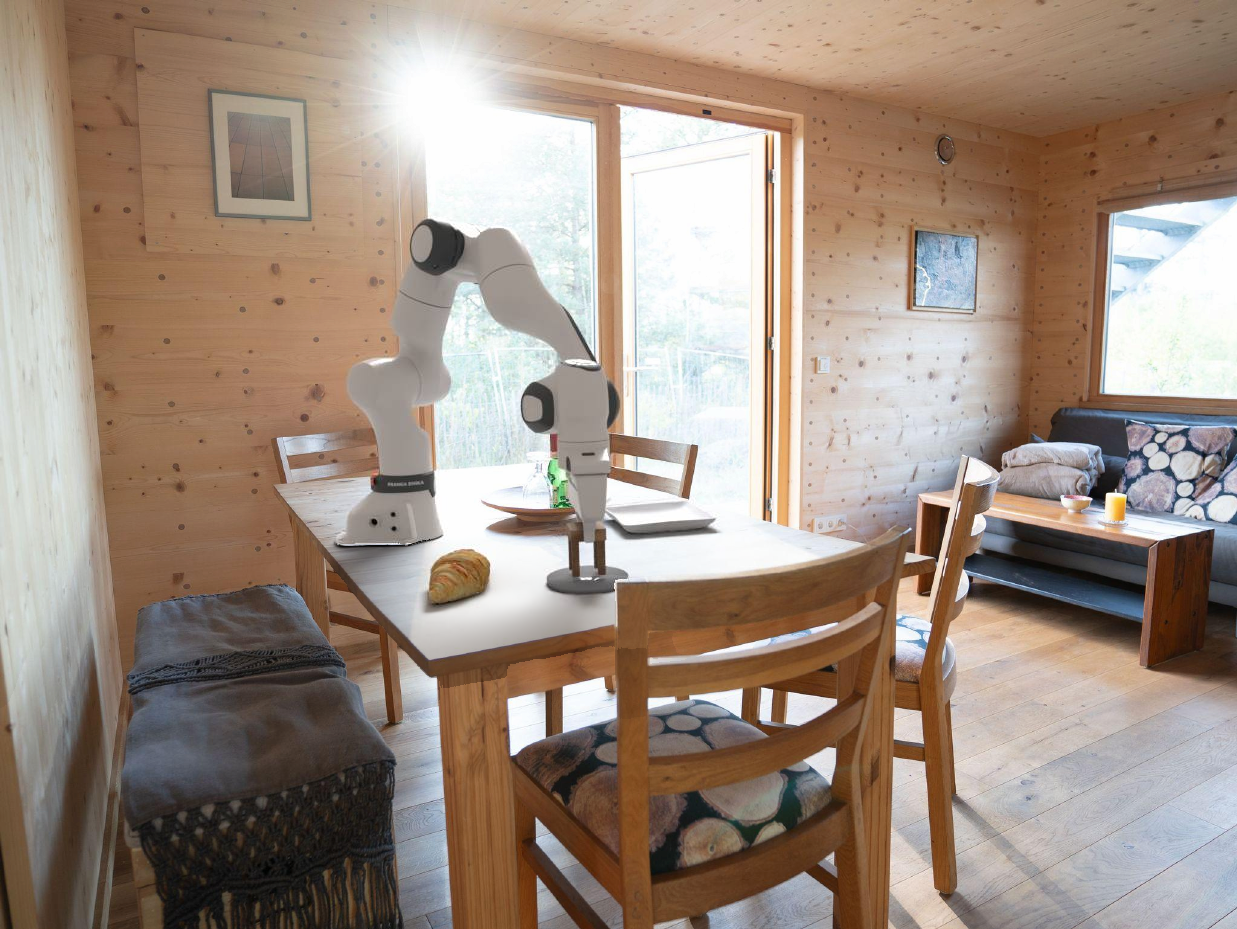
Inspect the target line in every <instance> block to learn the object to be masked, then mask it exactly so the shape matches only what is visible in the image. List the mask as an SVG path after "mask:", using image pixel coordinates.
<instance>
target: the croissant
mask: <svg viewBox="0 0 1237 929" xmlns="http://www.w3.org/2000/svg"><path fill="white" fill-rule="evenodd" d="M490 574H491V562H490V561H489V559H488V558H487V557H486V556H485V555H484V554H482V553H480V552H478V551H476V550H474V549H472V548H467V549H465V548H463V549H462V548H461V549H458V550H454V551H453V552H449V553H447V554H445V555H441V556H440V557H439V558H438V559H437V560H436V561H435V562H434V563H433V565H432V566H431V567H430V577H429V580H428V581H429V582H428V592H427V594H428V595H427V596H428V600H429V602H430V603H431V604H436V603H438V604H443V603H449V602H448V601H450V602H454V601H458V600H461V599H464V598H468V597H472V596H474V594H475V595H477V594H480V593H481V592H483V591H484V589H485V588H486V587H487V585H488V582H489V579H490V576H491V575H490ZM477 592H478V593H477ZM476 593H477V594H476ZM471 595H472V596H471ZM460 598H461V599H460Z"/></svg>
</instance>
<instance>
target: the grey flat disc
mask: <svg viewBox="0 0 1237 929" xmlns="http://www.w3.org/2000/svg"><path fill="white" fill-rule="evenodd" d="M627 578H628V579H629V573H628V572H627V571H626V570H624V569H621V568H618V567H613V566H610V565H609V566H608V565H606V575H598V568H597V569H595V568H594V564H592V565H580V577H573V576H572V570H569V566H568V567H563V568H560V569H556V570H554V571H552V572H550V573H548V575H546V586H547V587H548V588H550V589H551V590H553V591H556V592H560V593H565V594H572V595H573V594H577V595H591V594H603V593H607V592H608V593H609V592H612V591H615V589H614V583H615V580H618V579H627Z"/></svg>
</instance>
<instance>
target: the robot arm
mask: <svg viewBox="0 0 1237 929" xmlns="http://www.w3.org/2000/svg"><path fill="white" fill-rule="evenodd" d="M409 252H410V257H411V258H410V259H409V262H408V264H407V265H406V268H405V270H404V273H403V276H402V279H401V282H400V285H399V288H398V292H397V295H396V299H395V302H394V306H393V310H392V313H391V315H390V316H391V317H390V320H389V323H390V325H389V326H390V329H391V331H392V332H393V334H394V335H395V336H396V337H397V338H398V340H399V350H398V353H397V355H396V356H390V357H389V356H388V357H387V356H386V357H372V358H369V359H366V360H362V361H360V362H359V361H358V362H357V363H355V364H354V365H352V367H351V368H349V370H348V374H347V375H346V376H347V377H346V380H345V381H346V382H345V383H346V384H345V385H346V391H347V395H348V397H349V398H350V400H351V401H352V403H353V404H354V405H356V407H358V408H359V409H360V410H361V411H362V412H363V413H364V414H365V416H366V417H367V419H368V420H369V422H370V425H371V427H372V429H373V432H374V436H375V439H376V444H377V453H378V464H379V473H375V472H374V473H373V474H371V476H370V478H369V480H370V490H371V492H370V493H369V494H367V495H366V496H365V497H364V498H363V499H361V500H360V501H359V502H358V503H357V504H356V505H355V506H353V507H352V508H351V509H350V511H349V512H348V514H347V517H346V522H345V523H346V524H345V530H344V531H342V532H340V533H338V534H337V535H336V536H335V543H336V542H337V543H340V544H355V543H398V544H399V543H400V544H406V543H414V542H418V541H421V540H426V541H428V540H429V539H430V540H433V539H434V540H435V539H437V538H439V537H440V536H442V535H443V534H444V531H443V528H442V524H441V522H440V519H439V513H438V510H437V508H438V507H437V504H436V495H437V494H436V493H437V484H436V476H435V471H434V470H433V460H432V459H433V458H432V442H431V436H430V434H429V433H428V432H427V431H426V430H425V429H424V428H422V427H421V426H420V425H419V424H418V422H417V420H416V418H415V416H414V412H413V408H420V407H428V406H430V405H433V404H435V403H438V402H440V401H442V400H444V399H445V398H446V397H447V396H448V394H449V393H450V390H451V386H452V377H451V373H450V371H449V368H447V366H446V365H445V363H444V358H443V342H444V335H445V332H446V330H447V329H446V328H447V324H448V321H449V317H450V315H451V310H452V307H453V304H454V301H455V297H456V292H457V291H458V290H457V289H458V287H459V285H460V284H461V283H473V284H474V285H478V288H479V291H480V293H481V297H482V300H483V303H484V305H485V307H486V309H487V311H488V313H489V315H490V316H491V317H492V319H493V321H495V322H496V323H498V325H500V326H502V327H504V328H506V329H508V330H511V331H513V332H517V333H521V334H524V335H527V336H530V337H532V338H535V339H538V340H540V341H542V342H544V343H546V344H547V345H549V346H550V347H551V348H552V349H553V350H554V351H555V352H556V353H557V355H558V357H559V359H560V362H558V363H557V366H556V368H555V370H553V372H551V373H550V374H548V375H547V376H545V377H543V378H540V379H538V380H536V381H532V382H530V383H529V384H528V385H527V387H526V388H525V389H524V391H523V392H522V395H521V398H520V415H521V418H522V421H523V422H524V424H525V425H526V426H527V427H528V429H530V430H531V431H532V432H533V433H535V434H541V435H555V434H557V438H556V444H557V445H556V447H557V448H556V449H557V468H559V469H561V470H564V471H565V478H567V497H568V501H569V502H570V504H571V505H572V507H573V508H574V510H575V519H576V523H583V540H584V542H583V543H585V544H592V543H593V542H594V541H595V528H596V522H600V521H601V522H602V521H604V519H605V514H606V513H605V510H606V507H607V493H608V492H607V491H608V476H607V474H609V473H611V454H610V453H611V446H610V443H611V442H610V433H609V431H608V429H610V427H611V426H612V425H613V424H614V423H615V421H616V419H617V418H618V415H619V413H620V409H621V408H620V407H621V400H620V395H619V392H618V390H617V388H616V387H615V385H614V384H613V382H612V381H611V379H610V378H609V377H608V376H607V375H606V373H605V369H604V367H603V366H602V365H601V364H600V363H598V361H597V359H596V358H595V355H594V353H593V352H592V351H591V348H590V346H589V344H588V343H587V341H586V339H585V337H584V336H583V334H582V332H581V330H580V328H579V326H578V325H577V323H576V322H575V320H574V318H573V316H572V315H571V313H570V312H569V311H568V309H567V308H565V306H563V305H562V304H561V303H559V301H558V300H556V298H554V296H553V295H552V294H551V293H550V292H549V290H548V289H547V287H546V286H545V284H544V283H543V281H542V280H541V278H540V276H539V274H538V271H537V268H536V265H535V264H534V261H533V259H532V257H531V254H530V253H529V250H528V249H527V247H526V246H525V244H524V242H523V241H522V239H521V238H520V236H519V235H518V233H517V232H516V231H515V230H513V229H511V228H510V227H508V226H503V225H495V226H490V227H487V228H485V227H481V226H479V225H475V224H471V223H462V222H459V221H449V220H447V219H445V218H437V217H436V218H435V217H434V218H431V217H430V218H426V219H423V220H421V221H420V222H419V223H418V224H417V225H416V226H415V228H414V230H413V232H412V234H411V236H410V242H409ZM421 542H422V541H421ZM418 543H419V542H418Z"/></svg>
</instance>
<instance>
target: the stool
mask: <svg viewBox="0 0 1237 929" xmlns="http://www.w3.org/2000/svg"><path fill="white" fill-rule="evenodd" d="M565 526H566V528H565V529H566V536H567V544H568V547H567V548H568V567H569V570H572V576H573V577H580V566H581V565H580V543H585V542H584V540H583V523H577V522H570V523H566V525H565ZM606 541H607V528H606V527H605V525H604V524H603V522H602V521H596V528H595V541H594V542H593V565H594V568H595V569H597V568H598V575H606V566H607V565H606Z"/></svg>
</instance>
